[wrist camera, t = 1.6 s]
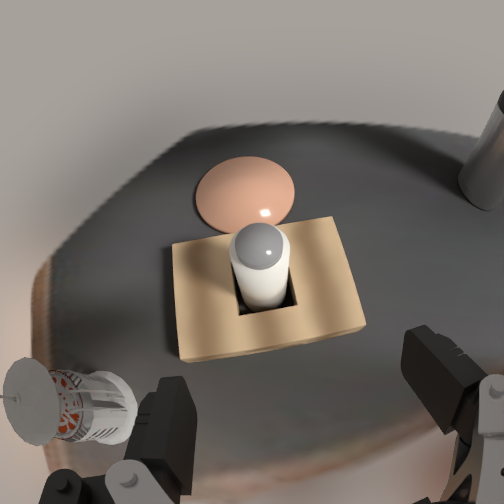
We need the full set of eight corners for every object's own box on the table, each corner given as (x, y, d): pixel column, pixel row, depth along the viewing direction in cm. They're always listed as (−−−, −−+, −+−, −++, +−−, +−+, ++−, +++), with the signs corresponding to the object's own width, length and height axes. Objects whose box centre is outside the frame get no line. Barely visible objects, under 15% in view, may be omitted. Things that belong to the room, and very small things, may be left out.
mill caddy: (328, 229, 39) (332, 216, 36) (359, 330, 32) (366, 324, 29) (178, 255, 38) (172, 244, 36) (187, 362, 32) (180, 359, 29)
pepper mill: (281, 269, 37) (283, 212, 26) (289, 309, 34) (296, 265, 24) (239, 276, 36) (224, 222, 26) (245, 317, 34) (231, 277, 23)
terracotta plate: (281, 154, 46) (281, 150, 45) (305, 226, 39) (305, 223, 38) (195, 169, 45) (193, 165, 45) (200, 244, 39) (199, 241, 38)
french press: (69, 375, 31) (-91, 314, 9) (142, 362, 32) (-30, 282, 10) (82, 445, 27) (-86, 440, 5) (160, 441, 28) (-19, 471, 5)
